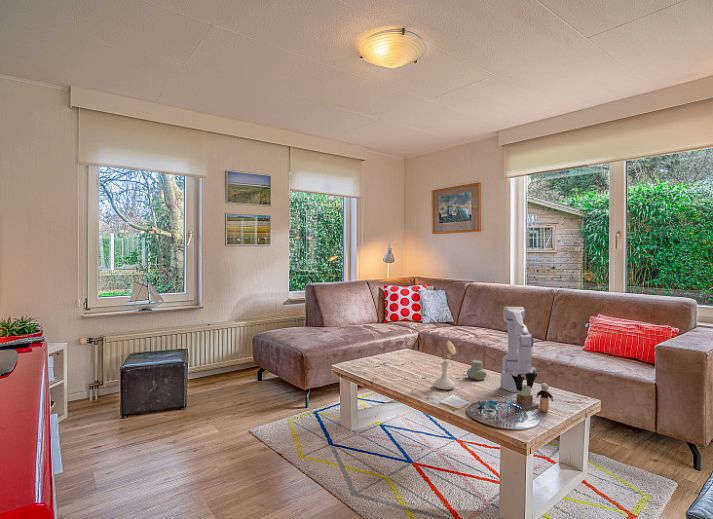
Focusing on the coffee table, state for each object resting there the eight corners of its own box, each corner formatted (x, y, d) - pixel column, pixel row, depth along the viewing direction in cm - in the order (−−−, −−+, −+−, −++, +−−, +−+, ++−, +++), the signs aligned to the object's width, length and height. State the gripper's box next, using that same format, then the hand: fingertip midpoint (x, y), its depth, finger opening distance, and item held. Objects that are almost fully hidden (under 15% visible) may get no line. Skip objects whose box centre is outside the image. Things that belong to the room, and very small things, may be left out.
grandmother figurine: (534, 410, 184) (535, 382, 184) (536, 407, 187) (536, 380, 187) (553, 414, 179) (553, 386, 179) (554, 411, 183) (554, 383, 183)
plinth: (509, 405, 190) (509, 401, 190) (522, 401, 195) (522, 398, 195) (526, 411, 183) (526, 408, 183) (538, 407, 187) (538, 404, 187)
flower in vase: (444, 392, 207) (444, 344, 206) (428, 386, 216) (429, 340, 216) (461, 388, 214) (462, 341, 214) (446, 382, 223) (446, 337, 223)
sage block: (517, 394, 190) (517, 385, 189) (523, 392, 192) (523, 384, 192) (525, 396, 186) (525, 388, 186) (530, 395, 188) (530, 386, 188)
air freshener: (471, 381, 226) (471, 363, 226) (464, 377, 234) (464, 359, 234) (488, 380, 228) (489, 362, 228) (481, 376, 236) (481, 359, 236)
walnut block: (516, 402, 189) (516, 394, 189) (523, 400, 192) (523, 392, 192) (525, 405, 185) (525, 397, 185) (532, 403, 188) (532, 395, 188)
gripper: (522, 364, 181) (521, 394, 182) (542, 360, 189) (541, 389, 189) (509, 360, 188) (508, 389, 188) (528, 357, 195) (528, 384, 195)
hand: (524, 389), depth 189 cm, fingers open, 7 cm apart
